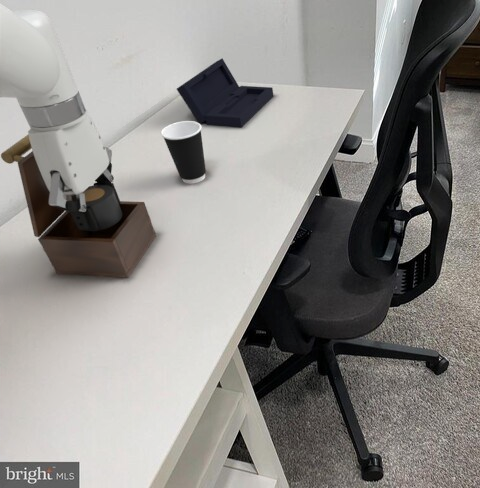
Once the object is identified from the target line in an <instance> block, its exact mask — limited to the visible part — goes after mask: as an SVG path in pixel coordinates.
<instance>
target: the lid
mask: <svg viewBox="0 0 480 488" xmlns="http://www.w3.org/2000/svg"><path fill="white" fill-rule="evenodd" d="M31 150H32V147H31V143H30V139H29V134H27V135H25V136H23V137H22V138H21V139H19V140H18V141H17V142H15V143H14V144H12V145H11V146H10V147H8V148H7V149H6V150H4V151H3V152H2V153H1V154H0V158H1V160H2V161H3V162H4V163H6V164H8V165H9V164H11V165H12V164H13V163H17V167H18V171H19V174H20V179H21V184H22V188H23V193H24V196H25V197H24V198H25V200H26V205H27V210H28V214H29V219H30V223H31V226H32V231H33V236H34V237H35V238H40V237H41V235H42V234H43V233H44V232H45V231H46V230H47V229H48V228H49V227H50V226H51V225H52V224H53V223H54V222H55V221H56V220H57V219H58V218H59V217H60V216H61V215H62V214H63V213H64V212H65V210H62V209H59V208H57V207H54V206H51V205H49V195H50V191H49V190H48V188H47V186H46V184H45V182H44V180H43V177H42V175H41V172H40V170H39V168H38V165H37V162H36V160H35V157H34V154H33V151H31ZM29 151H30V152H29ZM28 152H29V153H28ZM27 153H28V154H27ZM25 154H27V155H25ZM24 155H25V156H24ZM70 190H72V189H70ZM72 196H73V195H71V197H72Z"/></svg>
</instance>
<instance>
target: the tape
mask: <svg viewBox="0 0 480 488" xmlns="http://www.w3.org/2000/svg"><path fill="white" fill-rule="evenodd" d="M84 193H85V201H86V208H90V209H91V211H92V213H93V216H94V218H95V220H96V222H97V225H98V228H99V229H98V230H103V229H106V228H109V227H111V226H113V225H115V224H116V223H117V222H119V221H120V219H121V218H122V211H121V208H120V206H119V203H118V201H117V198H116V196H115V193H114V191H113V188H112V187H110V186H108V185H90V186H89V187H88V188H87V189H86V190H85V191H84ZM72 201H73V202H76V203H77V197H76V195H73V196H72ZM98 230H97V231H98Z"/></svg>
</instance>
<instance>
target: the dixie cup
mask: <svg viewBox="0 0 480 488" xmlns="http://www.w3.org/2000/svg"><path fill="white" fill-rule="evenodd" d="M202 128H203V127H202V124H201V123H200V124H199V123H198V121H194V120H183V121H177V122H174V123H171V124H168V125H166V126H165V127H163V128H162V129H161V131H160V136H161V138H163V140H164V143H165V145H166V147H167V150H168V151H169V154H170V156H171V159H172V161H173V163H174V166H175V168H176V170H177V174H178V175H179V177H180V179H181V180H182V182H183V183H185V184H191V185H192V184H197V183H200V182H202V181H203V180H205V178H206V173H207V169H206V161H205V153H204V145H203V137H202V136H203V135H202Z"/></svg>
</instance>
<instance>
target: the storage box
mask: <svg viewBox="0 0 480 488" xmlns="http://www.w3.org/2000/svg"><path fill="white" fill-rule="evenodd" d="M176 91H177V92H178V94H179V95H180V97H181V99H182V100H183V102H184V104H185V105H186V106H187V108H188V109H189V111H190V112H191V114H192V115H193V117H194V118H195V120H196V122H197V123H199V124H200V125H201V124H202V123H205V122H206V125H208V126H217V127H219V126H220V127H231V128H243V127H244V126H245V125H246V124H247V123H248V122H249V121H250V120H251V119H252V118H253V117H254V116H255V115H256V114H257V113H258V112H259V111H260V110H261V109H262V108H263V107H265V105H267V103H268V102H269V101H270V100H271V99H272V98H274V89H273V86H272V87H270V86H249V85H239V84H238V82H237V80H236V78H235V77H234V75H233V74H232V72H231V70H230V68H229V67H228V65H227V64H226V61H225V60H224V59H223V58H222V57H221V58H220V59H218V60H217V61H215V62H213V63H212V64H210V65H209V66H208V67H206V68H205V69H203V70H202V71H200V72H198V73H197V74H196V75H194V76H193V77H191V78H189V79H188V80H187V81H186V82H184V83H183V84H181V85H179V87H177V88H176Z"/></svg>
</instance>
